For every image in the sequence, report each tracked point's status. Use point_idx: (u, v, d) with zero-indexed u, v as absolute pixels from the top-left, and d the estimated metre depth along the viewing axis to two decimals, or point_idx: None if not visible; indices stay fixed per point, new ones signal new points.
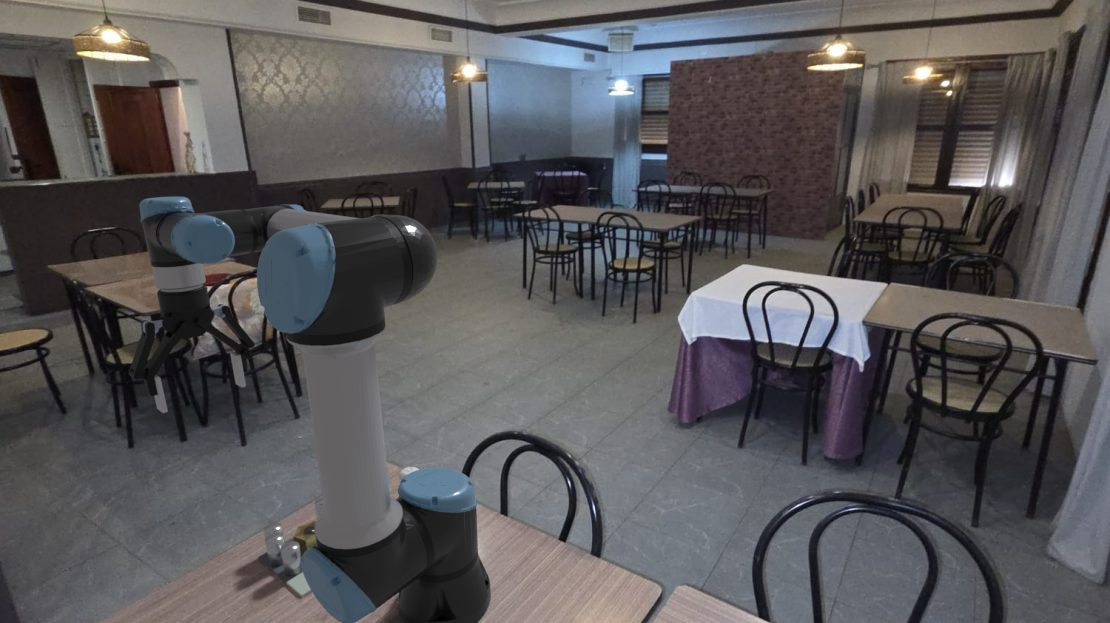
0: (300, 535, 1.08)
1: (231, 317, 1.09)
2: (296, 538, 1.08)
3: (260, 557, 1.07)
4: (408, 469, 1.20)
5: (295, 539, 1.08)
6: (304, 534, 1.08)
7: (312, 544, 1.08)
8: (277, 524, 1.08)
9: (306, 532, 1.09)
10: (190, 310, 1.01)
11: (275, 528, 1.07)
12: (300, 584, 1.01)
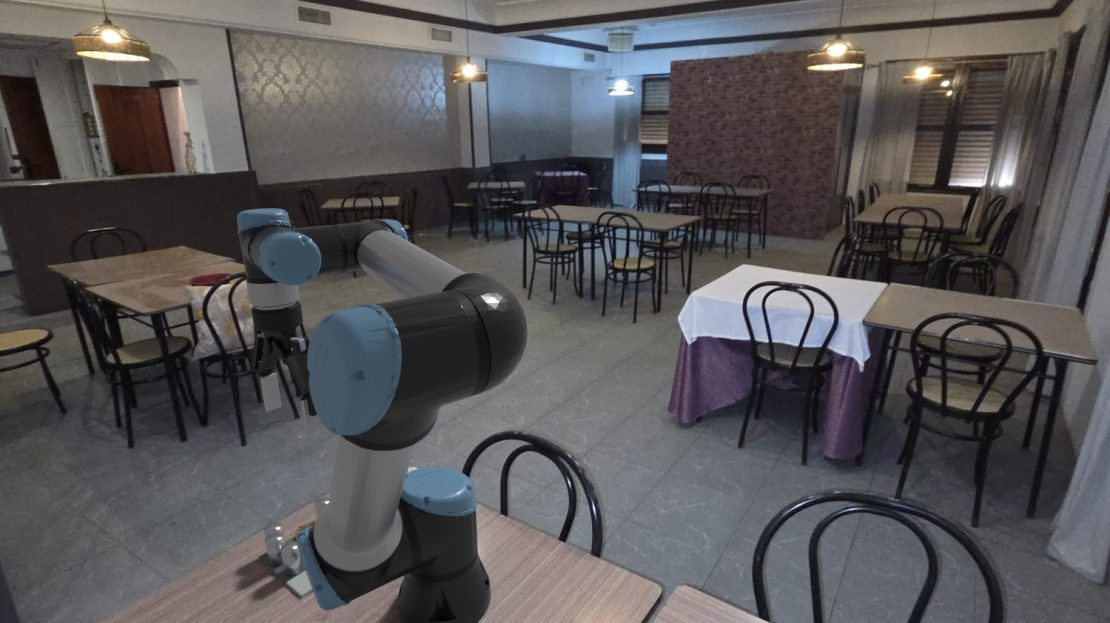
0: None
1: (296, 354, 0.94)
2: None
3: (260, 557, 1.07)
4: (408, 469, 1.20)
5: (295, 539, 1.08)
6: None
7: None
8: (277, 524, 1.08)
9: None
10: (255, 328, 0.95)
11: (275, 528, 1.07)
12: (300, 584, 1.01)
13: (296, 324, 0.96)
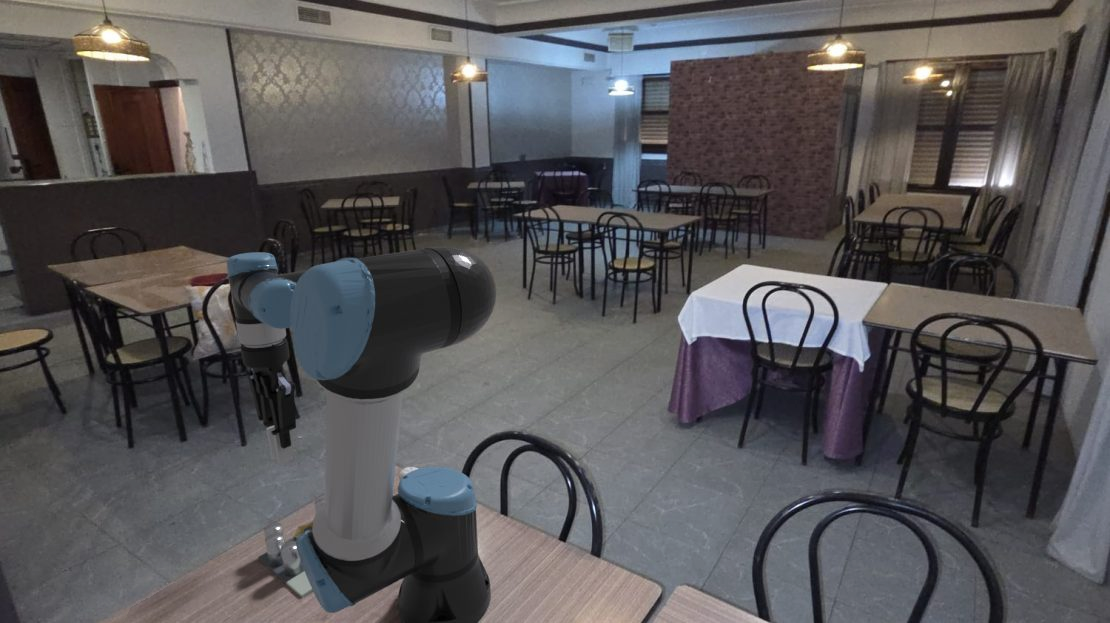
0: None
1: (280, 397, 1.01)
2: (296, 538, 1.08)
3: (260, 557, 1.07)
4: (408, 469, 1.20)
5: (295, 539, 1.08)
6: None
7: None
8: (277, 524, 1.08)
9: None
10: None
11: (275, 528, 1.07)
12: (300, 584, 1.01)
13: (283, 360, 1.02)
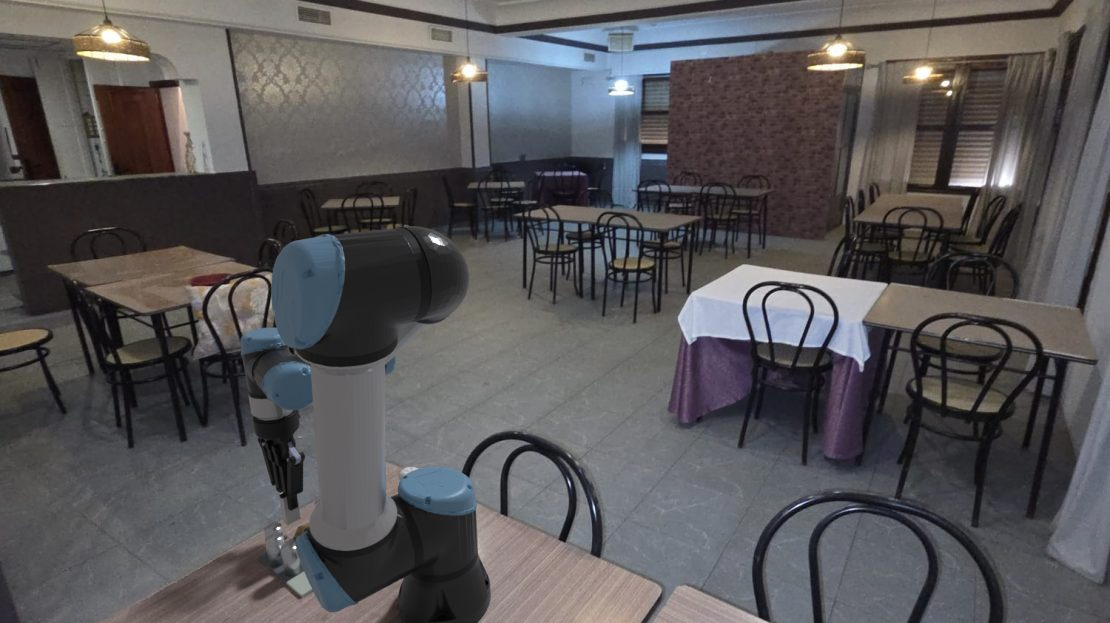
0: None
1: (289, 467, 1.06)
2: None
3: (260, 557, 1.07)
4: (408, 469, 1.20)
5: (295, 539, 1.08)
6: None
7: None
8: (277, 524, 1.08)
9: None
10: None
11: (275, 528, 1.07)
12: (300, 584, 1.01)
13: (293, 430, 1.06)
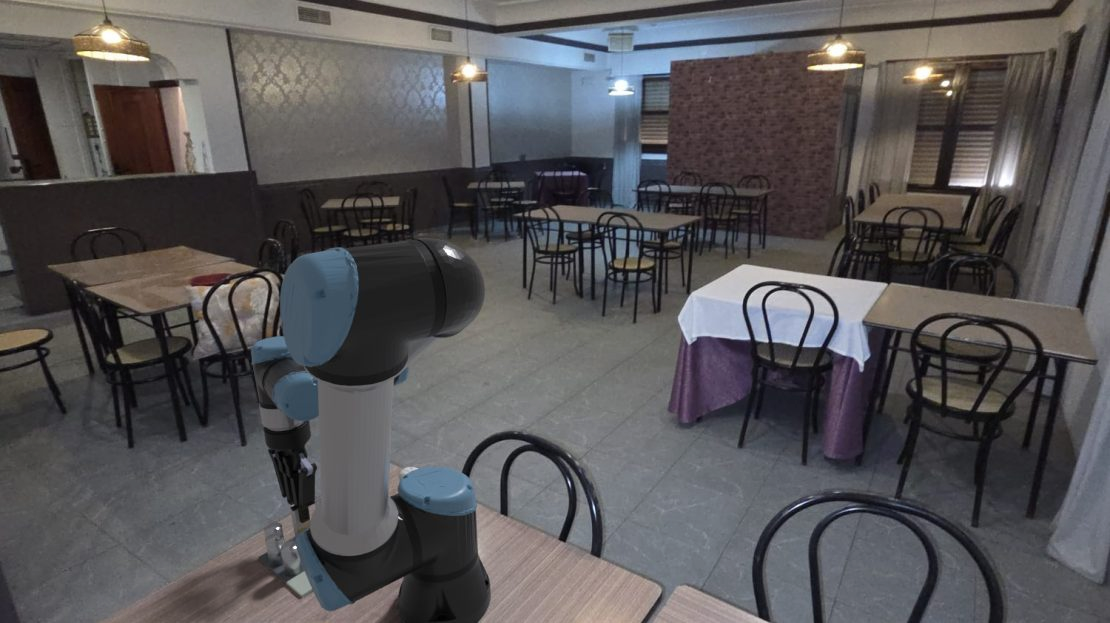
0: None
1: (301, 479, 1.04)
2: None
3: (260, 557, 1.07)
4: (408, 469, 1.20)
5: None
6: None
7: None
8: (277, 524, 1.08)
9: None
10: (267, 446, 1.03)
11: (275, 528, 1.07)
12: (300, 584, 1.01)
13: (305, 441, 1.04)
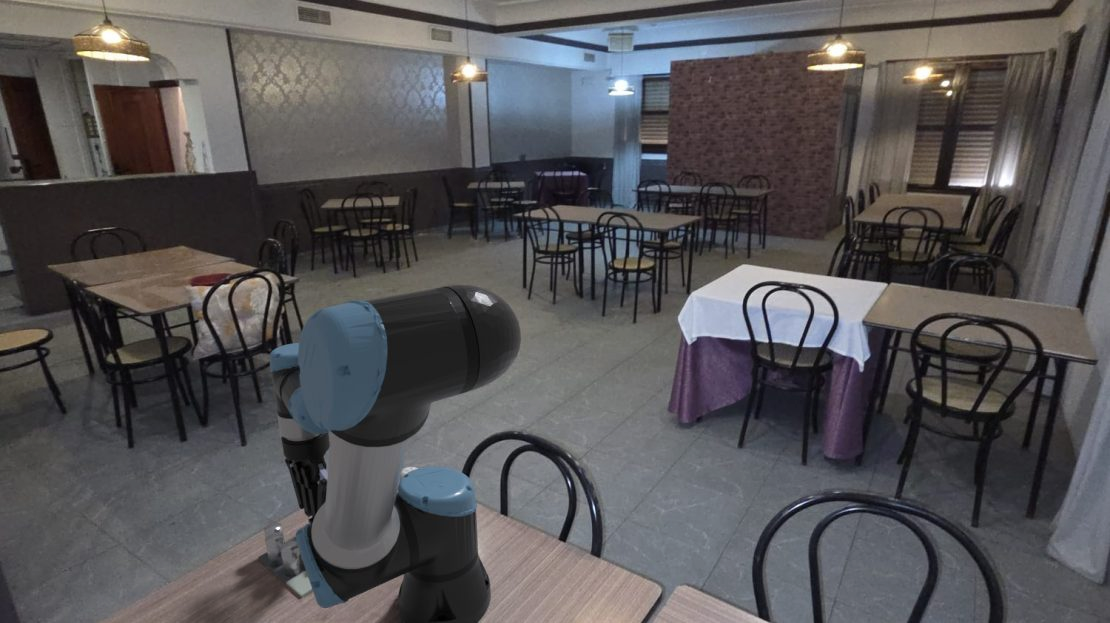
0: None
1: (320, 490, 1.00)
2: None
3: (260, 557, 1.07)
4: (408, 469, 1.20)
5: None
6: None
7: None
8: (277, 524, 1.08)
9: None
10: None
11: (275, 528, 1.07)
12: (300, 584, 1.01)
13: (324, 451, 1.01)
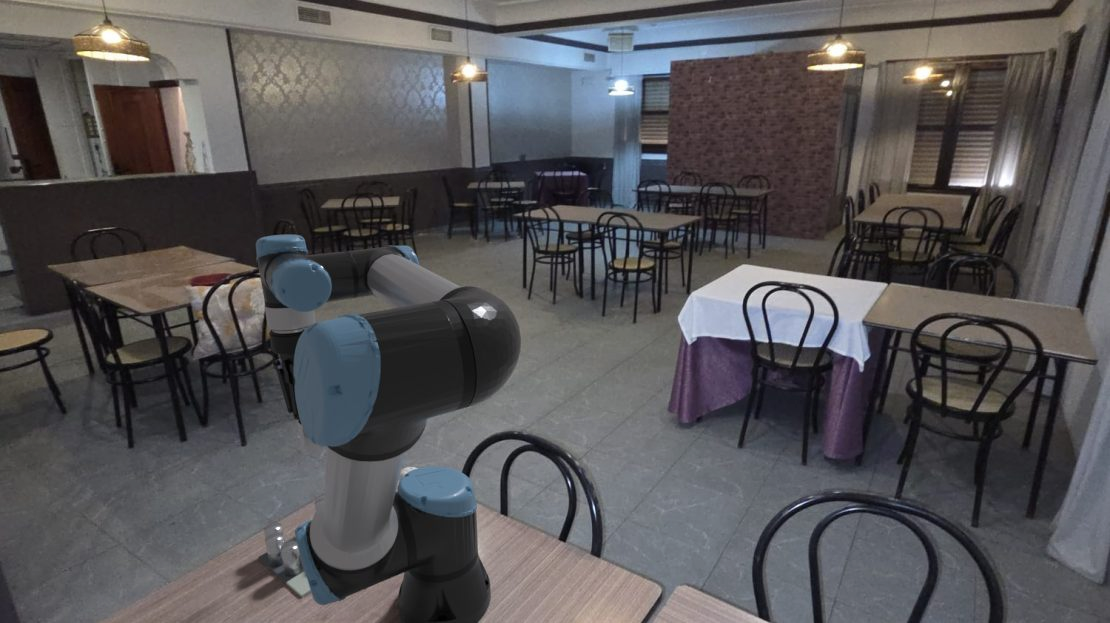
0: None
1: None
2: None
3: (260, 557, 1.07)
4: (408, 469, 1.20)
5: None
6: None
7: None
8: (277, 524, 1.08)
9: None
10: None
11: (275, 528, 1.07)
12: (300, 584, 1.01)
13: None
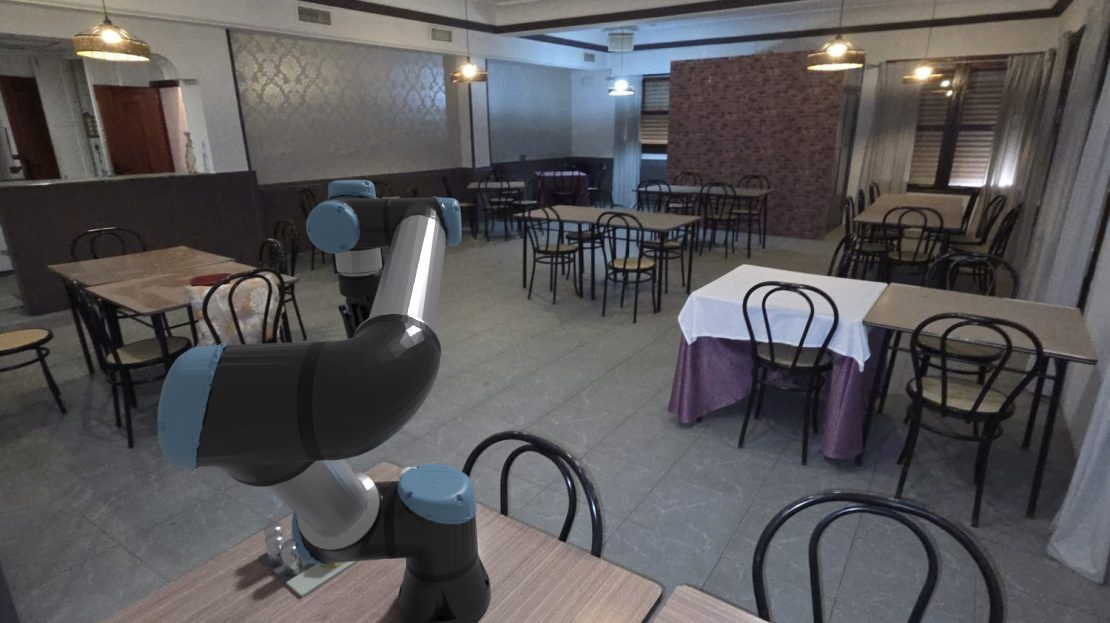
0: None
1: None
2: None
3: (260, 557, 1.07)
4: (408, 469, 1.20)
5: None
6: None
7: None
8: (277, 524, 1.08)
9: None
10: (342, 294, 1.00)
11: (275, 528, 1.07)
12: (300, 584, 1.01)
13: None
